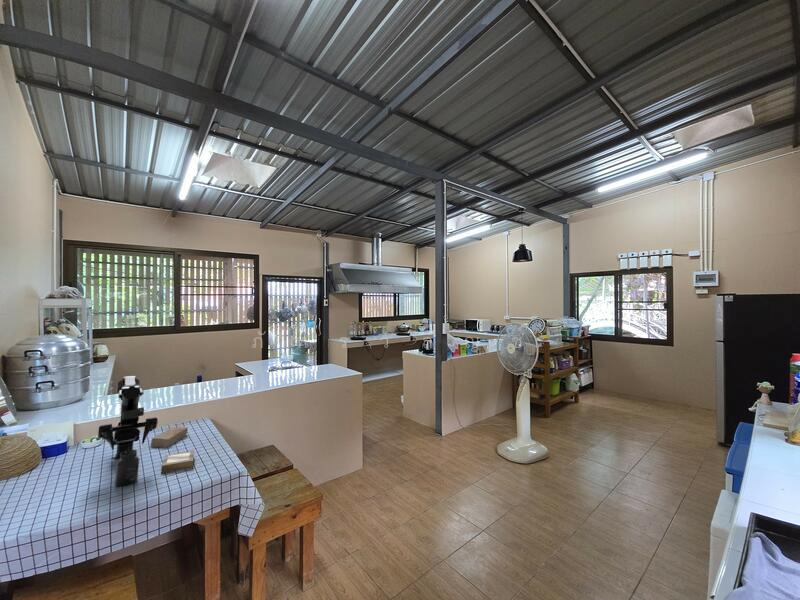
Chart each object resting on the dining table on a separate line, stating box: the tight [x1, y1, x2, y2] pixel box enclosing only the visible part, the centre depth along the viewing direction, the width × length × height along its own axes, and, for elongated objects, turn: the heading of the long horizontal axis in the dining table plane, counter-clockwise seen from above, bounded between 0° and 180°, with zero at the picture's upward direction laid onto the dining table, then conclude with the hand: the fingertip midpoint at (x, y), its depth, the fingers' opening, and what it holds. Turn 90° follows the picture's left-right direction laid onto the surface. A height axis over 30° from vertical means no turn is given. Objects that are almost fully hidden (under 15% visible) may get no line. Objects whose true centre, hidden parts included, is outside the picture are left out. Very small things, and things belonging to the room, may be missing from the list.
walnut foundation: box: [160, 450, 195, 474], centre depth 139 cm, size 11×11×3 cm
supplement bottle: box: [114, 449, 140, 488], centre depth 123 cm, size 7×7×12 cm
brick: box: [150, 426, 188, 448], centre depth 164 cm, size 17×8×5 cm, turn 3°
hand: (128, 446), depth 128 cm, fingers open, 9 cm apart
